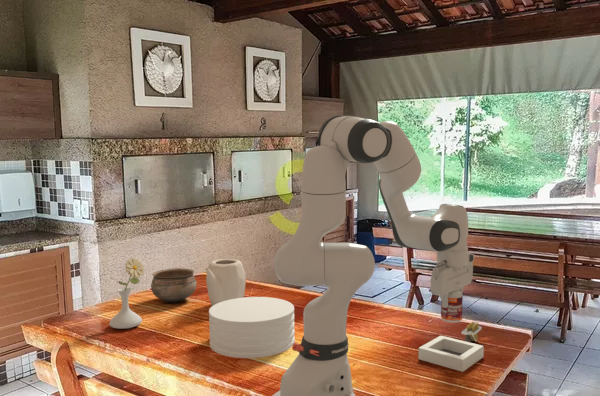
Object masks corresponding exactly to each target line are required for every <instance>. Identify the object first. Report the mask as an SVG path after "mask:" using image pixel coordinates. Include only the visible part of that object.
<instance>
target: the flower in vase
mask: <svg viewBox="0 0 600 396" xmlns="http://www.w3.org/2000/svg"><path fill="white" fill-rule="evenodd" d="M144 271H145V268H144V265H143V264H142V262H141V261H140V260H139V259H138V258H136V257H133V258H132V257H130V258H129V259H128V261H127V260H126V262H125V273H127V274H128V275H129V279H128V281H127V283H126V282H122V281H120V280H118V284H119V285H120V286H121V285H122V286H125V287H121V288H118V289H117V292H118V293H119V295H120V299H121V308H120V310H119V312H118V313H116V314H115V315H114V316H113V317H112V318H111V319H110V321H109V323H108V324H109V326H110V327H111V328H114V329H118V330H119V329H120V330H121V329H122V330H123V329H131V328H134V327H137V326H139V325H140V324H141V323H142V322H143V318H142V317H141V316H140V315H139V314H137V313H136V312H134V311H133V310H131V308H130V306H129V297H130V293H131V291H132V288H131V287H128V284H129V283H131V284H133V285H136V284H139V283H140V282H141V281H140V278H141V276H143V274H145V272H144Z"/></svg>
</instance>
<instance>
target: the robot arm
mask: <svg viewBox="0 0 600 396" xmlns="http://www.w3.org/2000/svg"><path fill="white" fill-rule="evenodd" d="M413 146H414V145H413V144H412V143H411V141H410V140H409V138H408V136H407V135H406V133H405V132H404V131H403V129H402V128H401V126H400V125H399V124H398V123H396V122H395V121H393V120H383V121H380V122H379V121H376V120H374V119H370V118H363V117H359V116H356V115H355V116H354V115H335V116H333V117H330V118H328V119H326V120H325V121H324V122H323V123H322V125H321V126H320V128H319V131H318V135H317V139H316V141H315V146H314V147H312V148H310V149H308V151H307V152H306V153H305V156H304V158H303V164H302V172H301V205H300V207H301V210H300V220H299V224H298V227H297V229H296V231H295V232H294V234H293V235H292V237H291V238H290V239H289V240H288V241H287V242H286V243H284V244H283V245H282V246H280V247H279V248H278V250H277V251H276V254H275V256H274V259H273V269H274V272H275V273H274V274H275V275H276V277H277V279H278V280H279V281H280V282H281V283H283V284H288V285H291V286H293V285H294V286H297V287H299V286H300V287H304V286H305V287H309V286H310V287H311V286H315V287H317V286H321V287H322V286H324V287H327V289H326V291H325V292H324V293H323V294H321V295H320V296H318V297H315V298H313V299H312V300H310V301H309V302H308V303H307V304H306V305H305V307H304V309H303V317H302V318H303V336H302V338H301V342H300V343H298V342H294V343H293V345H292V347H291V348H292V349H291V350H292V351H294V352H295V351H296V352H298V355H297V356H296V357H295V359H294V360H293V361H292V363H291V364H290V366H289V367H288V368H287V369H286V371H285V372H284V374H282V376H281V380H280V386H279V388H280V389H279V390H278V391H276V392H275V393H274V394H272V395H271V396H356V394H355V392H354V388H353V382H352V381H353V380H352V371H351V366H350V361H349V359H348V354H347V353H348V352H349V337H348V336H347V319H348V309H349V306H350V303H351V300H352V299H353V297H354V295H355V294H356V292H357V291H359V289H360V288H361V287H362V286H363V285H366V283H367V282H369V280H370V279H371V277H373V274H374V272H375V268H376V263H375V262H376V261H375V257H374V255H373V252H372V251H371V249H370V248H369V247H368V246H367V245H365V244H364V245H363V244H358V243H354V242H323V241H322V239H323V238H324V237H325V236H326V235H327V234H329V233H330V232H333V231H335V230H336V229H338V228H339V227H341V226H342V225H343V224H344V222H345V221H346V217H347V215H346V214H347V213H346V212H347V211H346V210H347V207H346V206H347V205H346V204H347V202H346V201H347V197H346V196H347V195H346V194H347V188H346V186H347V185H346V184H347V182H346V173H347V169H348V167H349V165H350V163H351V162H355V163H359V164H371V163H373V165H374V166H375V169H376V171H377V173H378V175H379V181H378V189H379V193H380V197H381V199H382V201H383V204H384V206H385V209H386V212H387V215H388V217H389V218H388V219H389V220H390V224H391V227H392V228H391V229H392V236H393V239H394V241H395V242H396V243H397V245H398V246H400V247H401V248H404V249H405V248H406V249H407V248H409V249H417V250H423V251H431V252H436V265H435V267H434V268H433V269H432V271H431V276H430V285H429V286H430V287H429V288H430V291H429V292H430V293H431V295H434V296H437V297H438V296H439V298H440V302H441V301H442V307H445V308H447V307H449V306H450V301H448V297H447V296H448V293H450V292H452V291H454V289H455V285H456V284H458V283H461V289H460V291H461V292H462V293H463V292H464V287H465V286H467V285H470V284H471V283H472V281H473V274H474V263H473V262H474V261H475V254H473V253H472V252H469V246H468V237H469V218H468V216H469V215H468V212H467V209H466V207H464V206H463V205H459V204H453V203H441V204H439V208H438V210H437V211H436V212H435V213H434V214H432V215H431V216H424V215H417V214H414V213H413V212H411V210H409V208H408V205H407V202H406V199H405V196H404V194H403V193H405V192H406V191H408V190H409V189H411V188H412V187H413V186H414V185H416V183H417V182H418V181H419V179H420V177H421V175H422V174H421V173H422V166H421V165H422V163H421V160H420V158H419V156H418V154H417V152H416V150H415V148H414V147H413Z"/></svg>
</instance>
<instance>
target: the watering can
mask: <svg viewBox="0 0 600 396" xmlns="http://www.w3.org/2000/svg"><path fill="white" fill-rule="evenodd" d="M204 270H205V272H206V277H205V281H206V282H205V283H206V288H207V289H206V290H207V292H208V294H207V295H208V299H209V301H210V305H211V307H212V306H213V305H215V304H217V303H220V302H223V301H226V300H230V299H236V298H244V297H245V293H246V292H245V291H246V281H247V278H246V272H245V268H244V265H243V262H242V261H241V260H239V259H237V258H236V259H235V258H219V259H214V260H212V261H211V262H210V263H208V267H206V268H205V269H204Z"/></svg>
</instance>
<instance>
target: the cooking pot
mask: <svg viewBox="0 0 600 396" xmlns="http://www.w3.org/2000/svg"><path fill="white" fill-rule="evenodd" d="M194 274H195V270H193V269H190V268H185V267H184V268H182V267H181V268H179V267H177V268H166V269H160V270H157V271H155V272H153V273H152V274H151V275H152V276H153V277H152V281H151V283H150V284H151V285H150V289H151V292H152V294H153V295H154V296H155V297H156V298H158V299H159V300H161V301H164V302H166V303H168V304H177V303H178V304H179V303H181V302H183V301H184V300H186V299H187V298H189V297H190V296H192V295H193V294H194V292H195V291H196V288H197V283H198V282H197V280H196V277H195V275H194Z"/></svg>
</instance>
